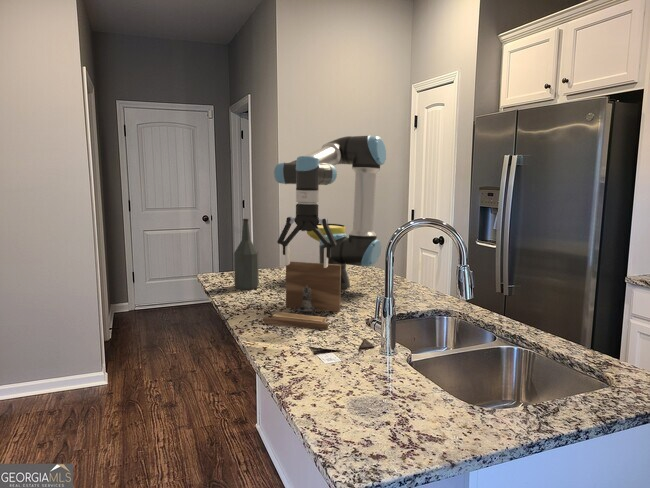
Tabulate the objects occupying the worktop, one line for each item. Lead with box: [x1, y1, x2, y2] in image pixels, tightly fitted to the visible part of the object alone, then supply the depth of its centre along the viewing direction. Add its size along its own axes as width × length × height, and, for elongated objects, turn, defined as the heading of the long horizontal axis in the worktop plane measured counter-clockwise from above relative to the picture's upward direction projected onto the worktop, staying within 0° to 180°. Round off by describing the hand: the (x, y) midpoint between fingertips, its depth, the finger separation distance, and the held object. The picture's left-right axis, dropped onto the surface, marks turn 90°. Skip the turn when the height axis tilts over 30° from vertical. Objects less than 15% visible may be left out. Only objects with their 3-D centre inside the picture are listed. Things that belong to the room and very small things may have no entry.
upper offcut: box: [272, 311, 327, 323], centre depth 158 cm, size 4×17×2 cm, turn 72°
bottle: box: [233, 218, 260, 291], centre depth 207 cm, size 10×10×30 cm
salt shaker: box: [297, 285, 316, 316], centre depth 166 cm, size 6×6×12 cm
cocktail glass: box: [306, 223, 346, 243], centre depth 226 cm, size 18×18×25 cm
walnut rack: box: [263, 261, 342, 331], centre depth 163 cm, size 21×22×18 cm
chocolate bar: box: [308, 337, 375, 356], centre depth 142 cm, size 9×1×18 cm
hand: (306, 265), depth 164 cm, fingers open, 13 cm apart
